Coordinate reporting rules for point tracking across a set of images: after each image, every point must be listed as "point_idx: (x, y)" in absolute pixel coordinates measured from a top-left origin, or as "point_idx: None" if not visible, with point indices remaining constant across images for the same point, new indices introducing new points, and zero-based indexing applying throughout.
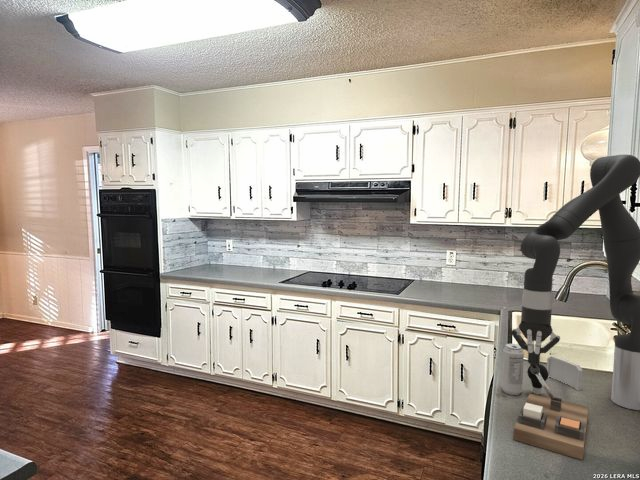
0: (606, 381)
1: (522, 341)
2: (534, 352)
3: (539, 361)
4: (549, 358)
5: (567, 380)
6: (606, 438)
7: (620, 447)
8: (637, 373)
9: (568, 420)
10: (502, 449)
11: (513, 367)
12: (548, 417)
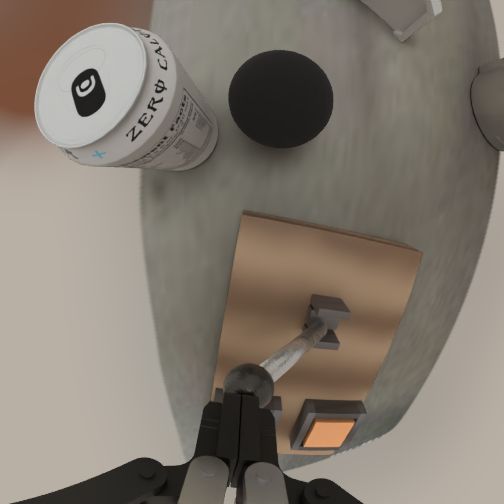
0: None
1: (117, 499)
2: (236, 460)
3: (273, 427)
4: None
5: (378, 3)
6: (407, 345)
7: (416, 367)
8: None
9: (328, 428)
10: (193, 451)
11: (144, 166)
12: (288, 381)
